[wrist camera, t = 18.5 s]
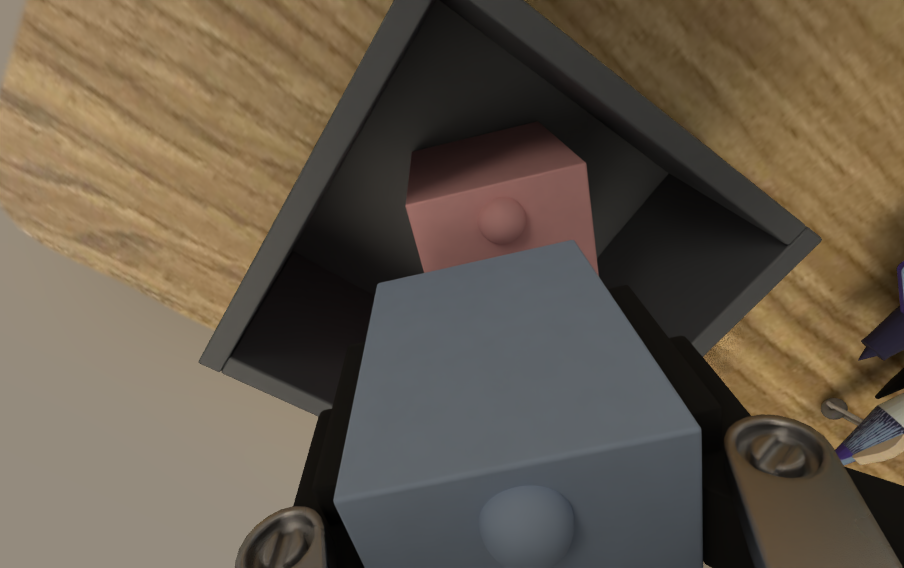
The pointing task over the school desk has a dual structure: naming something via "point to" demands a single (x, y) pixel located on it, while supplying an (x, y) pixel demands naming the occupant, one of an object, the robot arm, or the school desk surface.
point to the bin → (472, 114)
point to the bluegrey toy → (516, 426)
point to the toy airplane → (877, 397)
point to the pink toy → (498, 197)
